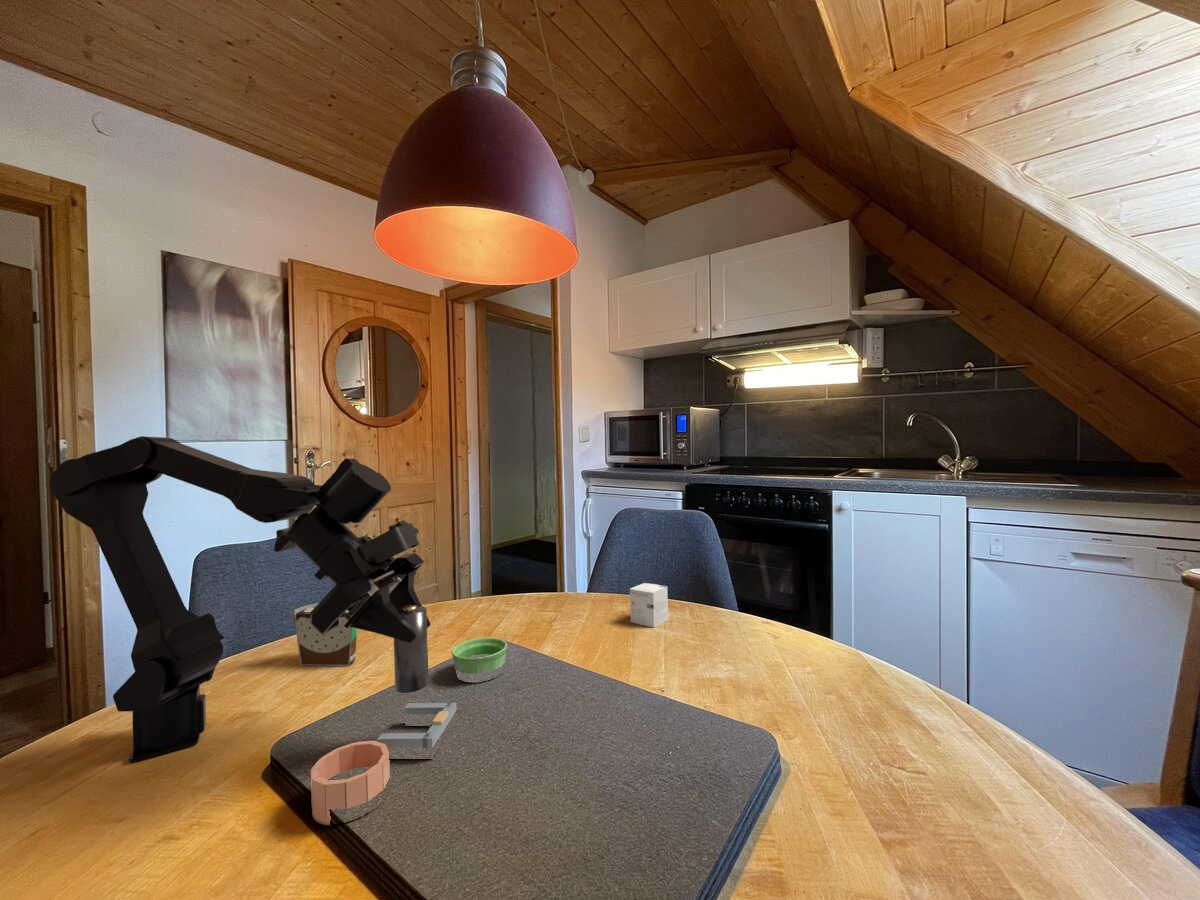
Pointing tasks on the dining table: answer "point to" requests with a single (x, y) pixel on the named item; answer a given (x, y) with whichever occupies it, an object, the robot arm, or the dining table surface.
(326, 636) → the food container
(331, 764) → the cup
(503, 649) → the ramekin
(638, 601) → the skincare box
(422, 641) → the cylinder
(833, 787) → the dining table surface
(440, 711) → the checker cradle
